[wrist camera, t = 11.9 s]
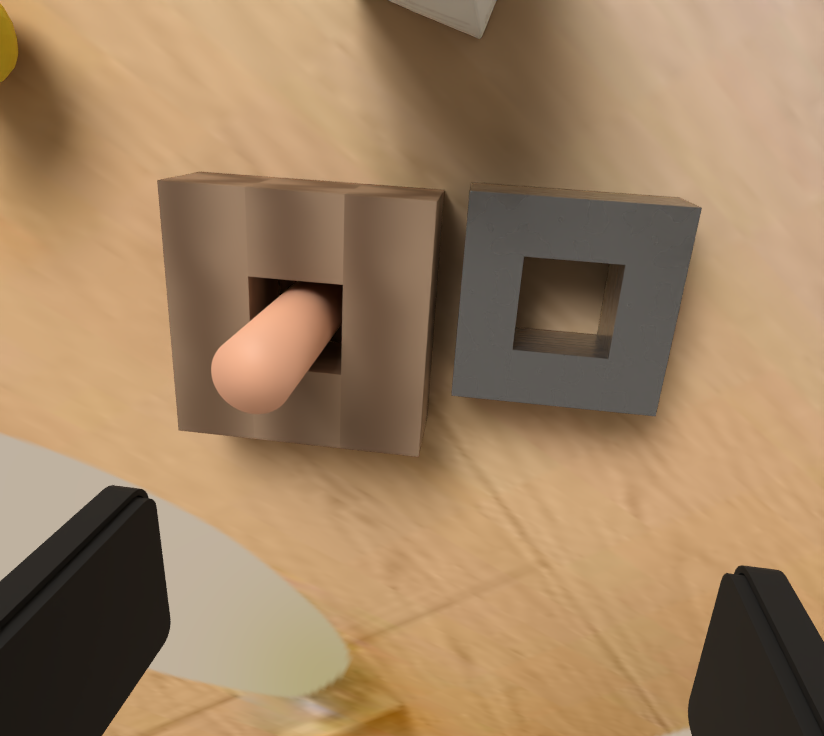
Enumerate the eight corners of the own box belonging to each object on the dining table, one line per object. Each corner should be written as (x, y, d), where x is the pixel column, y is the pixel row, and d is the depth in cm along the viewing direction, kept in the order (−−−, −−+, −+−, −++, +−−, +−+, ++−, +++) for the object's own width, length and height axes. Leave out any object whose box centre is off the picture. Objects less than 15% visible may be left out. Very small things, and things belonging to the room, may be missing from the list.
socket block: (444, 189, 36) (436, 201, 31) (427, 417, 41) (418, 456, 36) (199, 171, 37) (157, 180, 32) (213, 395, 42) (178, 430, 37)
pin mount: (679, 197, 34) (701, 207, 31) (639, 387, 38) (655, 416, 35) (472, 182, 35) (469, 190, 32) (455, 369, 39) (451, 395, 36)
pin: (350, 274, 38) (292, 340, 27) (349, 332, 39) (292, 418, 28) (291, 269, 38) (208, 332, 27) (292, 326, 40) (213, 409, 28)
